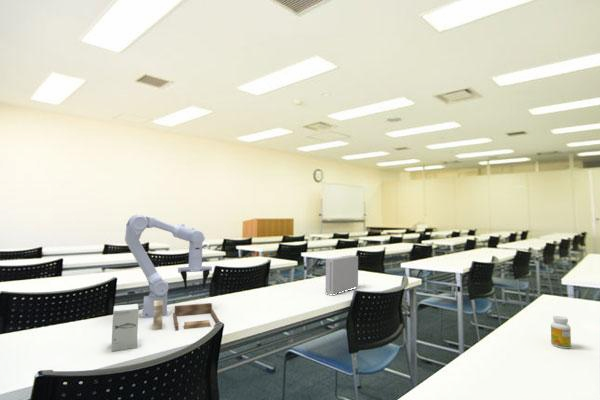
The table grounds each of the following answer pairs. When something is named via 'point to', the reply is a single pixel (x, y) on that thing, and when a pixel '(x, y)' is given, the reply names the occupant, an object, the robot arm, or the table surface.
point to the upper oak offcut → (196, 324)
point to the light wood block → (158, 315)
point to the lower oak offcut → (192, 328)
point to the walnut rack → (193, 311)
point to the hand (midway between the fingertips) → (194, 287)
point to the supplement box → (125, 327)
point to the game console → (341, 274)
